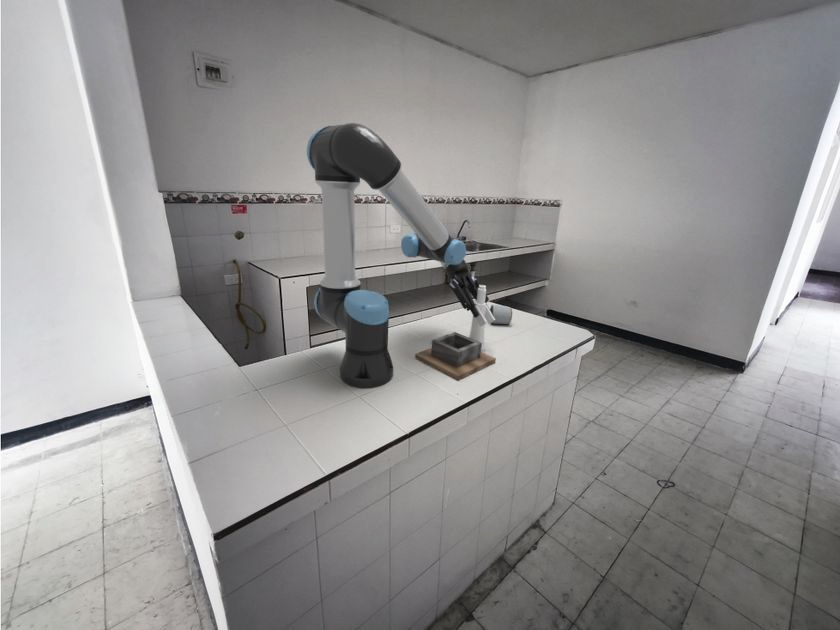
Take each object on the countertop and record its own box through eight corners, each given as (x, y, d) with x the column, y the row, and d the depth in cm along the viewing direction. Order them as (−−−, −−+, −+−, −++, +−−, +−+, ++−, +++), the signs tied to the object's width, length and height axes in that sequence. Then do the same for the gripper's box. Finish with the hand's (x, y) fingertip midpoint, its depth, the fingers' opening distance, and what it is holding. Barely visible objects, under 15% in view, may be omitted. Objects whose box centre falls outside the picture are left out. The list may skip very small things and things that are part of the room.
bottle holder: (458, 380, 104) (460, 359, 102) (415, 358, 116) (416, 339, 114) (495, 362, 116) (497, 343, 114) (452, 343, 128) (454, 326, 126)
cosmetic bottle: (463, 346, 127) (469, 284, 120) (476, 342, 130) (483, 282, 123) (474, 352, 122) (481, 289, 115) (488, 349, 126) (495, 287, 118)
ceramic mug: (511, 326, 147) (514, 308, 145) (491, 325, 147) (493, 307, 145) (505, 318, 157) (508, 301, 155) (486, 317, 157) (488, 300, 155)
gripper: (463, 267, 134) (495, 323, 129) (430, 273, 123) (464, 334, 117) (475, 255, 129) (510, 312, 123) (443, 260, 118) (479, 323, 112)
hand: (487, 323), depth 120 cm, fingers closed on cosmetic bottle, 4 cm apart
